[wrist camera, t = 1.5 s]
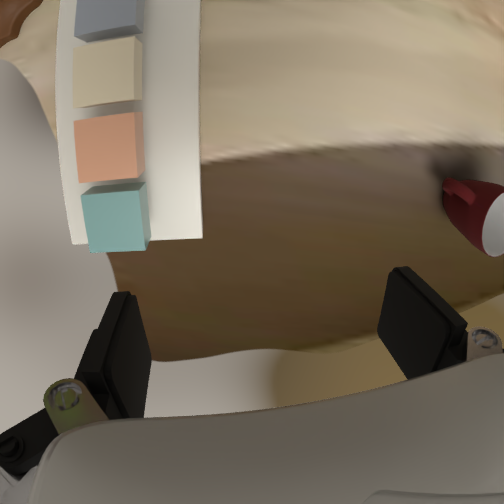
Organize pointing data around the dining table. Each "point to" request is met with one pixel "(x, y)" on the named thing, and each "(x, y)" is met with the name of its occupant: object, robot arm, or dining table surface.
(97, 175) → the key
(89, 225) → the key
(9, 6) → the plant
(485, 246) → the mug
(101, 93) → the key
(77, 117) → the keypad base
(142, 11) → the key
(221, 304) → the dining table surface
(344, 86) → the dining table surface
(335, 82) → the dining table surface
